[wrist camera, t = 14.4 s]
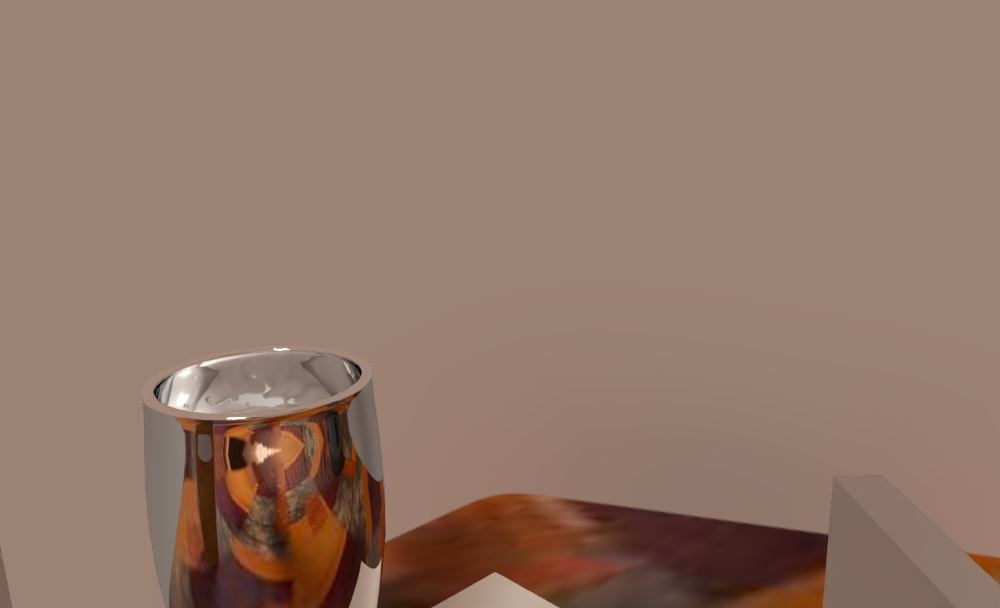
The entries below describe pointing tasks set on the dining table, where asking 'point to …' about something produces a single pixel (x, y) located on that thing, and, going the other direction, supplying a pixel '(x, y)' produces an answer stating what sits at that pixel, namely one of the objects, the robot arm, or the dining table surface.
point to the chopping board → (495, 595)
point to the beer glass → (265, 480)
